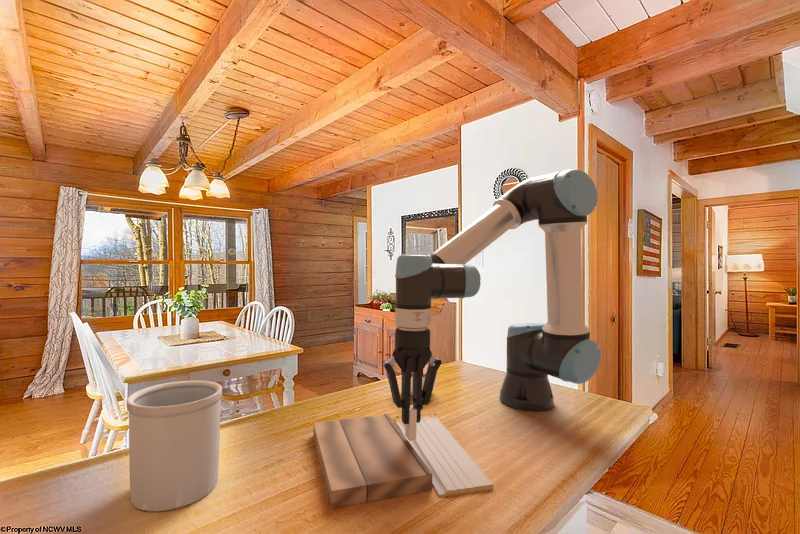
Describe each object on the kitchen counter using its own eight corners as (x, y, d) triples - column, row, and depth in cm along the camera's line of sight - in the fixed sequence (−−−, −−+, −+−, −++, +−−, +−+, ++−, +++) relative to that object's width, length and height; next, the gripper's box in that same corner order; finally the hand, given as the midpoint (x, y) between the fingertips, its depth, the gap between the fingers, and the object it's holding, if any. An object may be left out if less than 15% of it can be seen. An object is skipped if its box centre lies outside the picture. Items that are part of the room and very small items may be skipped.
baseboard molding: (431, 501, 70) (493, 492, 73) (431, 485, 70) (493, 476, 73) (390, 426, 100) (435, 422, 103) (391, 415, 100) (436, 411, 103)
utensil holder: (155, 467, 79) (155, 379, 78) (233, 465, 80) (233, 378, 79) (106, 516, 64) (105, 408, 63) (202, 512, 65) (202, 406, 64)
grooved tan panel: (388, 426, 99) (388, 413, 99) (432, 490, 72) (432, 472, 72) (313, 435, 93) (313, 422, 93) (331, 508, 67) (331, 490, 66)
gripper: (388, 332, 78) (386, 450, 79) (448, 329, 82) (446, 441, 83) (378, 325, 85) (376, 433, 86) (434, 323, 90) (432, 426, 90)
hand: (410, 437), depth 85 cm, fingers closed
